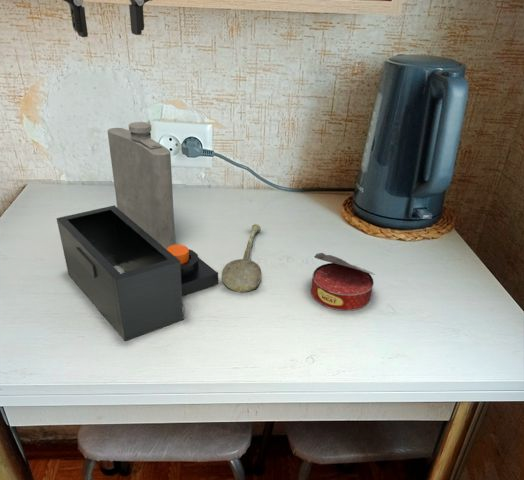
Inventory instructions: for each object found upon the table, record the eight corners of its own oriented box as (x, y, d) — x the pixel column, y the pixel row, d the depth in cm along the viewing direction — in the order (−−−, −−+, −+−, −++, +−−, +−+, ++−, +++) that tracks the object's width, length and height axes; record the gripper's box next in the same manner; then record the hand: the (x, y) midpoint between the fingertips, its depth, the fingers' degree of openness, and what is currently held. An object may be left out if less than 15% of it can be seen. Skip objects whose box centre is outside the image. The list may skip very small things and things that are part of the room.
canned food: (306, 311, 87) (295, 253, 85) (358, 297, 90) (349, 240, 87) (334, 320, 77) (322, 255, 74) (392, 304, 79) (383, 240, 77)
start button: (173, 267, 80) (173, 257, 79) (162, 257, 83) (161, 248, 81) (193, 261, 82) (193, 251, 81) (181, 252, 84) (181, 242, 83)
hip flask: (116, 224, 99) (101, 114, 86) (134, 218, 101) (122, 110, 88) (164, 256, 90) (156, 139, 77) (183, 249, 92) (178, 135, 80)
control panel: (170, 300, 80) (168, 278, 77) (140, 272, 85) (138, 251, 83) (218, 284, 84) (218, 263, 81) (186, 258, 90) (186, 238, 87)
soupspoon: (217, 292, 83) (257, 299, 83) (218, 275, 81) (258, 282, 81) (240, 228, 100) (273, 234, 99) (241, 213, 97) (275, 218, 97)
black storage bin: (123, 341, 71) (114, 280, 65) (66, 275, 83) (54, 218, 77) (183, 319, 76) (180, 260, 70) (121, 259, 88) (114, 205, 82)
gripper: (132, -104, 72) (142, 30, 82) (29, -116, 65) (54, 32, 75) (157, -104, 68) (164, 38, 78) (50, -116, 60) (73, 41, 71)
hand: (110, 35), depth 76 cm, fingers open, 8 cm apart
